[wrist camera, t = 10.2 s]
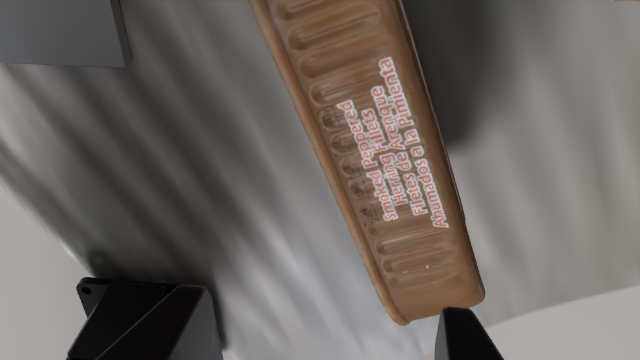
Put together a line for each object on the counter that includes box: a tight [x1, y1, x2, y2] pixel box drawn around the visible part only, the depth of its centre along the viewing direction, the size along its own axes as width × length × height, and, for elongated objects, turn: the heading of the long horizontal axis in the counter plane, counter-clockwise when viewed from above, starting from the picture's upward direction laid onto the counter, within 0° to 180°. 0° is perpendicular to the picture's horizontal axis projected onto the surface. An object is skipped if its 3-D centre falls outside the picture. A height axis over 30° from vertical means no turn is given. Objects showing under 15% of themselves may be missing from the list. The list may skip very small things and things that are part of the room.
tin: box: [248, 0, 485, 326], centre depth 15 cm, size 15×3×8 cm, turn 21°
